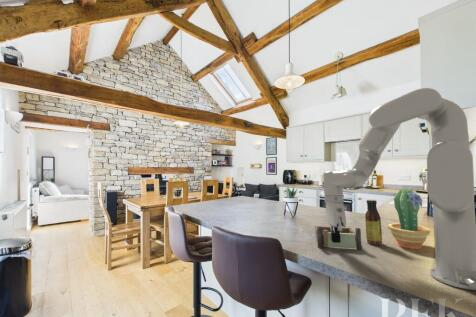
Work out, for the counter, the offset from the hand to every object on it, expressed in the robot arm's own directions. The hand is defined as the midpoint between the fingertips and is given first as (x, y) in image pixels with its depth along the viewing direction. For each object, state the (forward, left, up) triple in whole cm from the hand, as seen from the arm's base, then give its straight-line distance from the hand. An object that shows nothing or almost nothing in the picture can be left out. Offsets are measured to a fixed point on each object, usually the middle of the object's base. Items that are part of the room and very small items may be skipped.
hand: (336, 241), depth 94 cm
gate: (+3, -2, -3) cm, 4 cm away
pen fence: (+11, -2, -4) cm, 11 cm away
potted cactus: (+13, -32, -4) cm, 35 cm away
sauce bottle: (+13, -18, -4) cm, 23 cm away
